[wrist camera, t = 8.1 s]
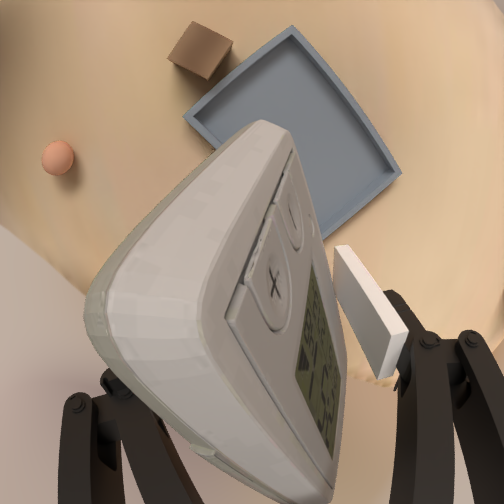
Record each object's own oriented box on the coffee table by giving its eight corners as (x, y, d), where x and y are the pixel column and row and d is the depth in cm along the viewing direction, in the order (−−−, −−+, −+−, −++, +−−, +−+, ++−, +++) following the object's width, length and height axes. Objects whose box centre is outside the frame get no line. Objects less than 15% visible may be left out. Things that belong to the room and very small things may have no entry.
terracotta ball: (46, 156, 26) (30, 165, 23) (63, 131, 25) (46, 137, 22) (67, 176, 28) (52, 186, 25) (84, 151, 27) (70, 159, 24)
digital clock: (339, 358, 20) (388, 492, 11) (213, 381, 20) (221, 525, 11) (342, 109, 12) (559, 187, 3) (138, 140, 12) (-31, 284, 3)
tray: (307, 240, 35) (312, 248, 33) (184, 114, 27) (182, 116, 25) (393, 168, 32) (402, 173, 30) (287, 28, 23) (292, 24, 22)
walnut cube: (173, 62, 24) (166, 58, 21) (195, 29, 23) (192, 21, 19) (208, 80, 26) (207, 79, 22) (231, 48, 24) (233, 41, 21)
